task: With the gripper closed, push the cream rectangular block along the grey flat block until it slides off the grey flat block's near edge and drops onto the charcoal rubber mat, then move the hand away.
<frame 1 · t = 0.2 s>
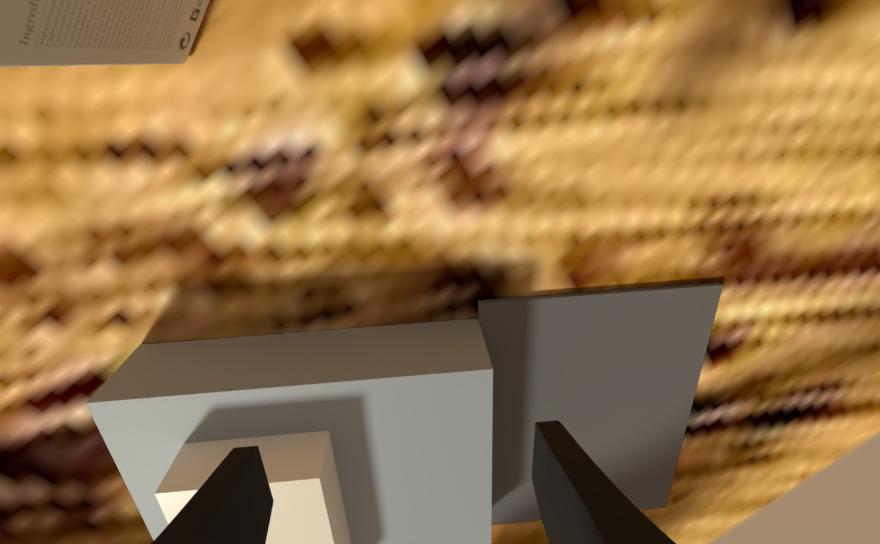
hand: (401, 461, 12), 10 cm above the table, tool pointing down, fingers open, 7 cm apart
grey flat block: (333, 439, 24), on the table
mat: (584, 416, 25), on the table
cream rectangular block: (278, 509, 21), point 4 cm above the table, touching grey flat block
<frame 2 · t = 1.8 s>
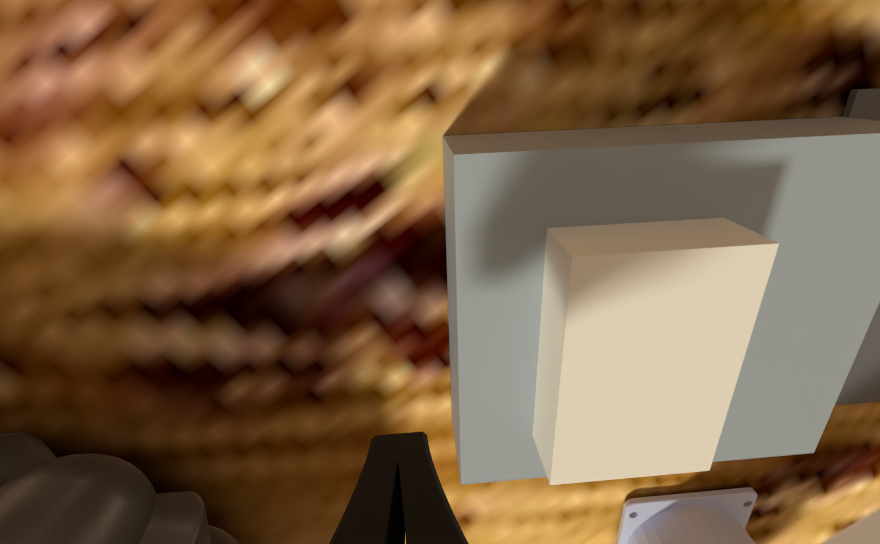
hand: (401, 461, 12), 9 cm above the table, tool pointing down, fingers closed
grey flat block: (622, 286, 20), on the table
cream rectangular block: (618, 337, 17), point 4 cm above the table, touching grey flat block
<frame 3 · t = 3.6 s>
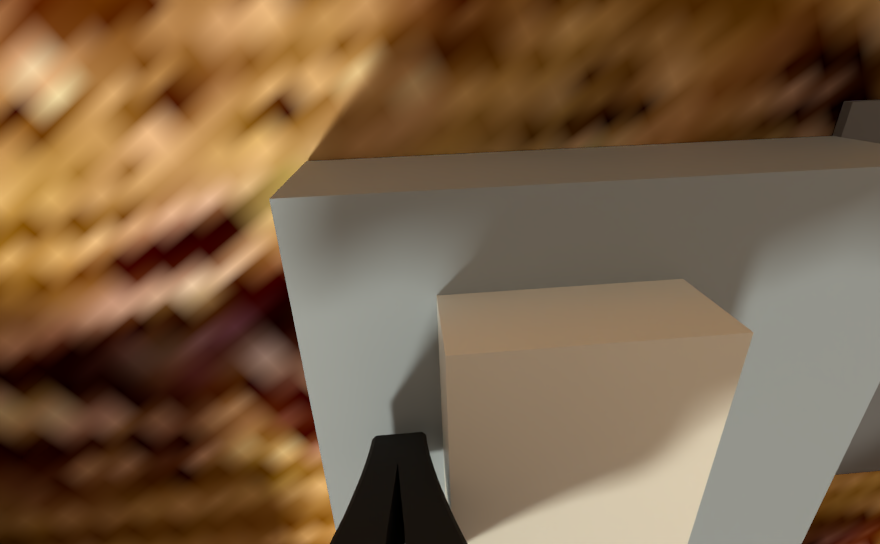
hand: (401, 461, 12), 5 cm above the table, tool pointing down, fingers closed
grey flat block: (559, 344, 16), on the table
cream rectangular block: (548, 429, 13), point 4 cm above the table, touching grey flat block, gripper
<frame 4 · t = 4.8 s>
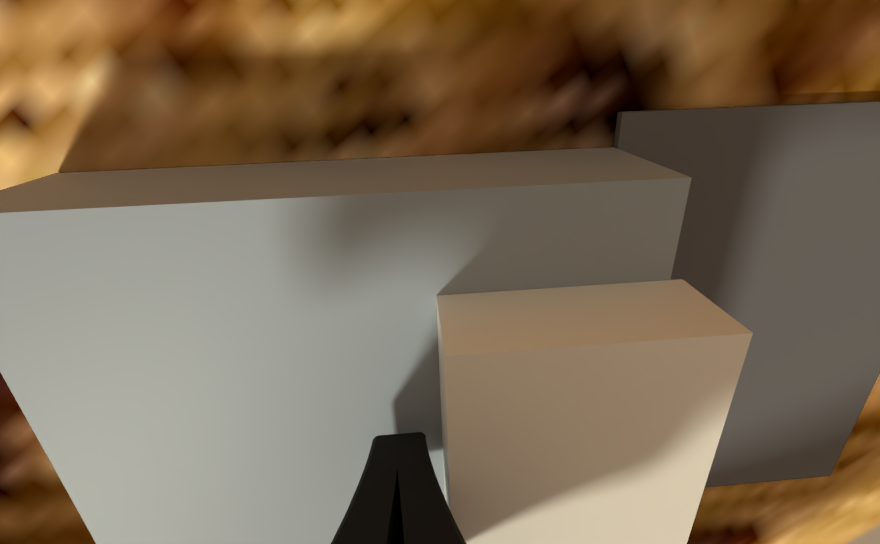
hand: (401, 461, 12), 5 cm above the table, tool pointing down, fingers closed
grey flat block: (368, 358, 16), on the table
mat: (744, 331, 17), on the table
cream rectangular block: (548, 429, 13), point 4 cm above the table, touching grey flat block, gripper
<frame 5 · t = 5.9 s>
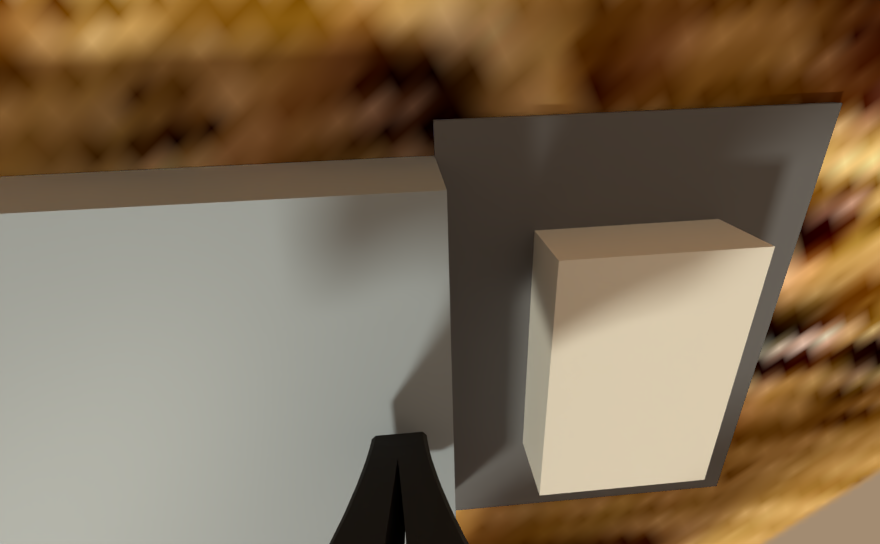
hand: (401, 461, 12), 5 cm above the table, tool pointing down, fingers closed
grey flat block: (214, 369, 16), on the table
mat: (604, 341, 16), on the table
cream rectangular block: (642, 386, 14), point 3 cm above the table, tilted 180°, touching mat
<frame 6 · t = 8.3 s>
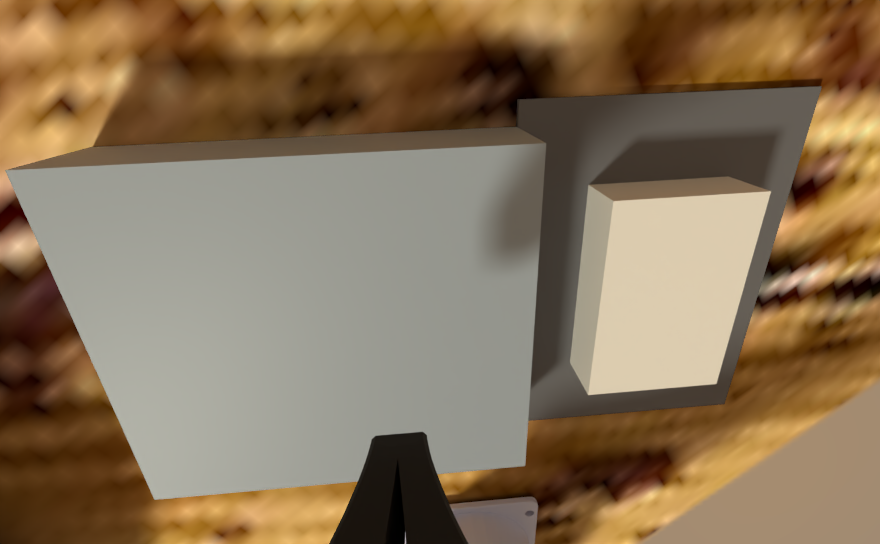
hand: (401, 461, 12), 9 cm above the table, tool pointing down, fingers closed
grey flat block: (334, 297, 20), on the table
mat: (637, 277, 21), on the table
cream rectangular block: (670, 303, 18), point 3 cm above the table, tilted 180°, touching mat
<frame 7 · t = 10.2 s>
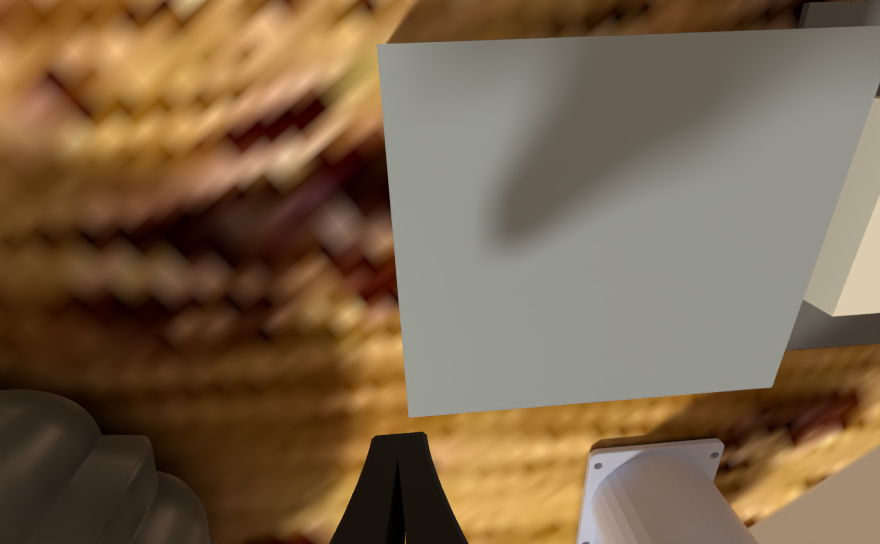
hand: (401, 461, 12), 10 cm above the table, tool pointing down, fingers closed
grey flat block: (576, 217, 20), on the table
mat: (873, 200, 21), on the table
bundt pan: (23, 503, 25), on the table
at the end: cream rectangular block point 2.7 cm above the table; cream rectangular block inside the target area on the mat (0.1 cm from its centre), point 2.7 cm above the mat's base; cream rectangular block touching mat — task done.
